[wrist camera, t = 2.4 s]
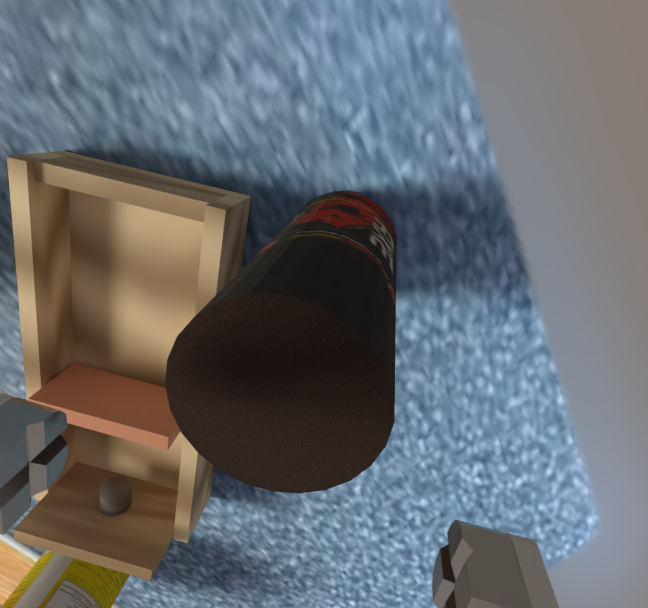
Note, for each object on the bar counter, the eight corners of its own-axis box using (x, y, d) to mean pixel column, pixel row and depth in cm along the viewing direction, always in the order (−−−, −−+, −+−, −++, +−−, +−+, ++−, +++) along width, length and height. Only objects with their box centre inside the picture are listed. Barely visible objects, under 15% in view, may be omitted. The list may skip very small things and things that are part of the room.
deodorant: (270, 255, 26) (129, 412, 12) (330, 167, 24) (236, 241, 10) (354, 314, 27) (307, 526, 13) (419, 235, 24) (447, 391, 11)
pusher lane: (63, 150, 25) (-50, 163, 19) (251, 195, 25) (200, 224, 18) (73, 458, 35) (-1, 536, 28) (209, 497, 34) (166, 585, 28)
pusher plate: (74, 363, 29) (27, 398, 26) (197, 396, 29) (168, 437, 25) (74, 375, 30) (29, 412, 26) (196, 408, 29) (167, 450, 26)
